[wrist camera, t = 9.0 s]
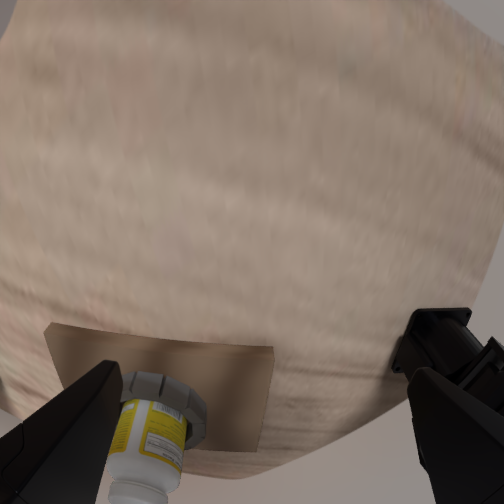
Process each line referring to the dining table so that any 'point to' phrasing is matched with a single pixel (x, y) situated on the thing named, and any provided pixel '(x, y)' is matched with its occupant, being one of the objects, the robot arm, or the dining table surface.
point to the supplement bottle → (146, 453)
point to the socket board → (178, 380)
